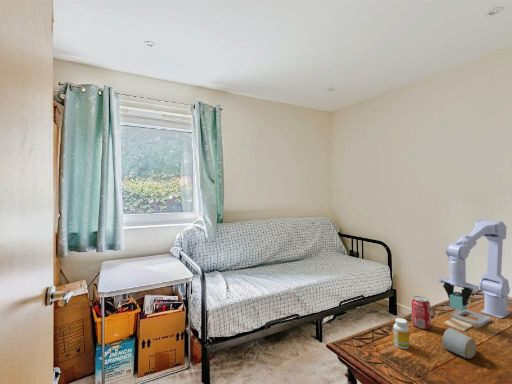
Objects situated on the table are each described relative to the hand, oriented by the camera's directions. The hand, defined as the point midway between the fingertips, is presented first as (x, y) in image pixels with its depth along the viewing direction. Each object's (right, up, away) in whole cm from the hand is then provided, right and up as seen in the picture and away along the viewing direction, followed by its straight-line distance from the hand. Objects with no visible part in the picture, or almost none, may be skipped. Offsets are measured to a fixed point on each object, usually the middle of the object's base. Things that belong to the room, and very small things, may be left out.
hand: (458, 303), depth 120 cm
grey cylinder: (-14, -10, -20) cm, 26 cm away
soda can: (-16, -10, 0) cm, 19 cm away
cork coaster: (0, -10, 0) cm, 10 cm away
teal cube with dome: (0, -2, 0) cm, 2 cm away
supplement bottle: (-32, -11, -14) cm, 37 cm away
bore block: (+9, -9, +5) cm, 14 cm away
